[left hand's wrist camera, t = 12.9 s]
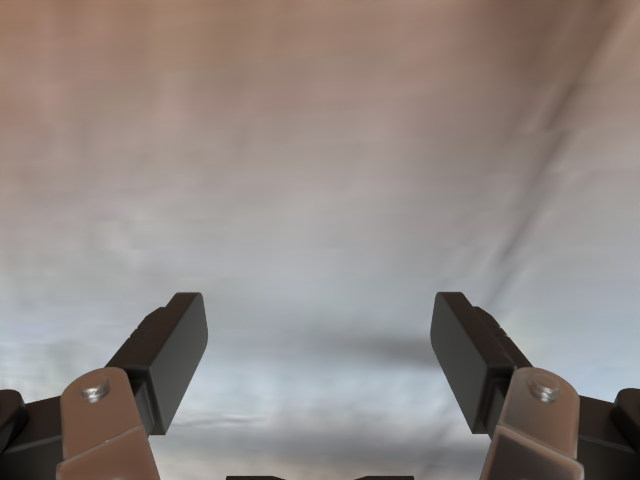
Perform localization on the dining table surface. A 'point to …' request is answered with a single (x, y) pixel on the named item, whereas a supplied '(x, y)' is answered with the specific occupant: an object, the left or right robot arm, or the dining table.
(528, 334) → the dining table surface
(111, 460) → the left robot arm
